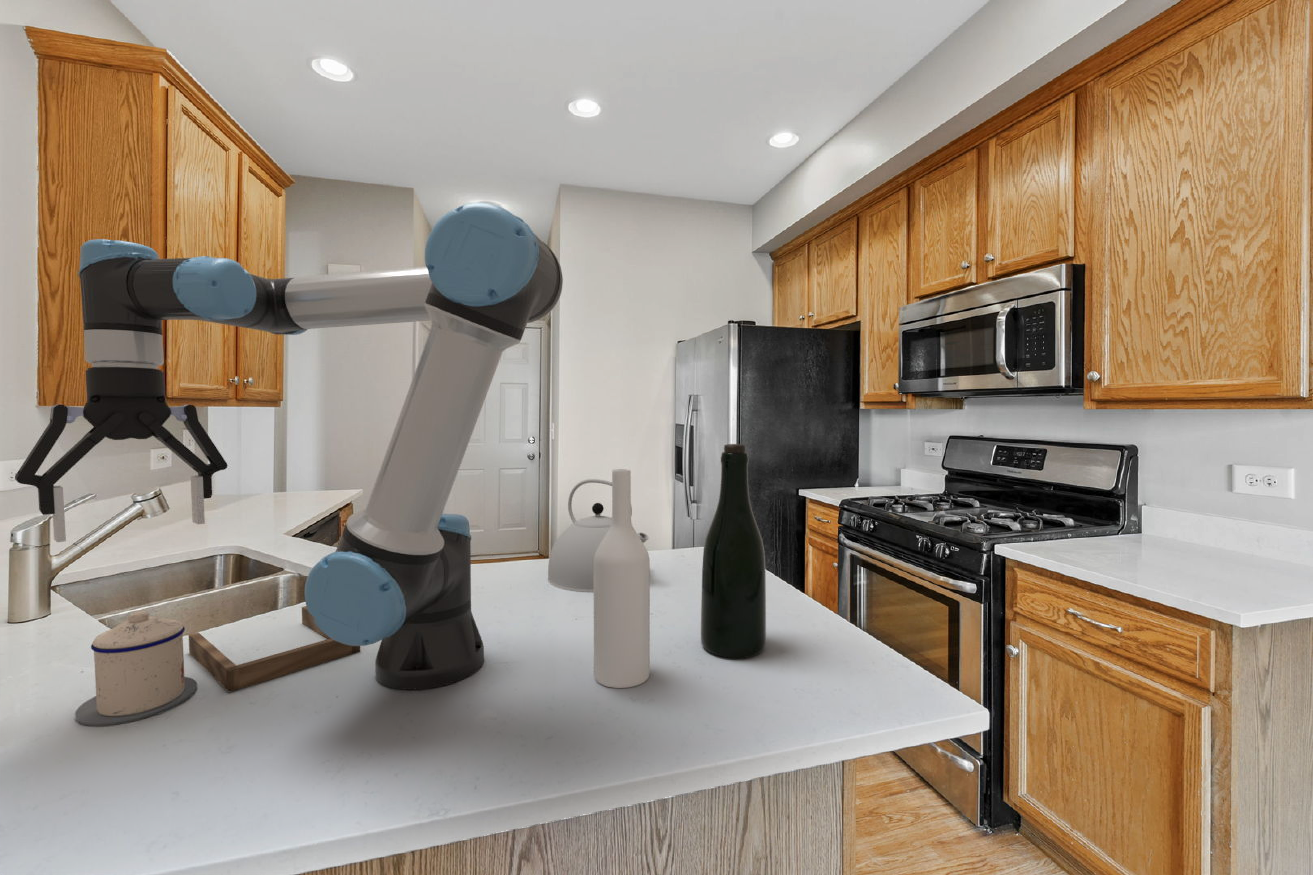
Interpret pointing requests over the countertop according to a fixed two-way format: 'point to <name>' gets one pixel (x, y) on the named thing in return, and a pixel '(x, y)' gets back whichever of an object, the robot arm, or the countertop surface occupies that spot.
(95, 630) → the countertop surface
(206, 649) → the wooden tray
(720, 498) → the dark green wine bottle
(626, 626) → the bottle
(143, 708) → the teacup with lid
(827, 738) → the countertop surface
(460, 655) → the robot arm
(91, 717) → the coaster
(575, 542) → the kettle
